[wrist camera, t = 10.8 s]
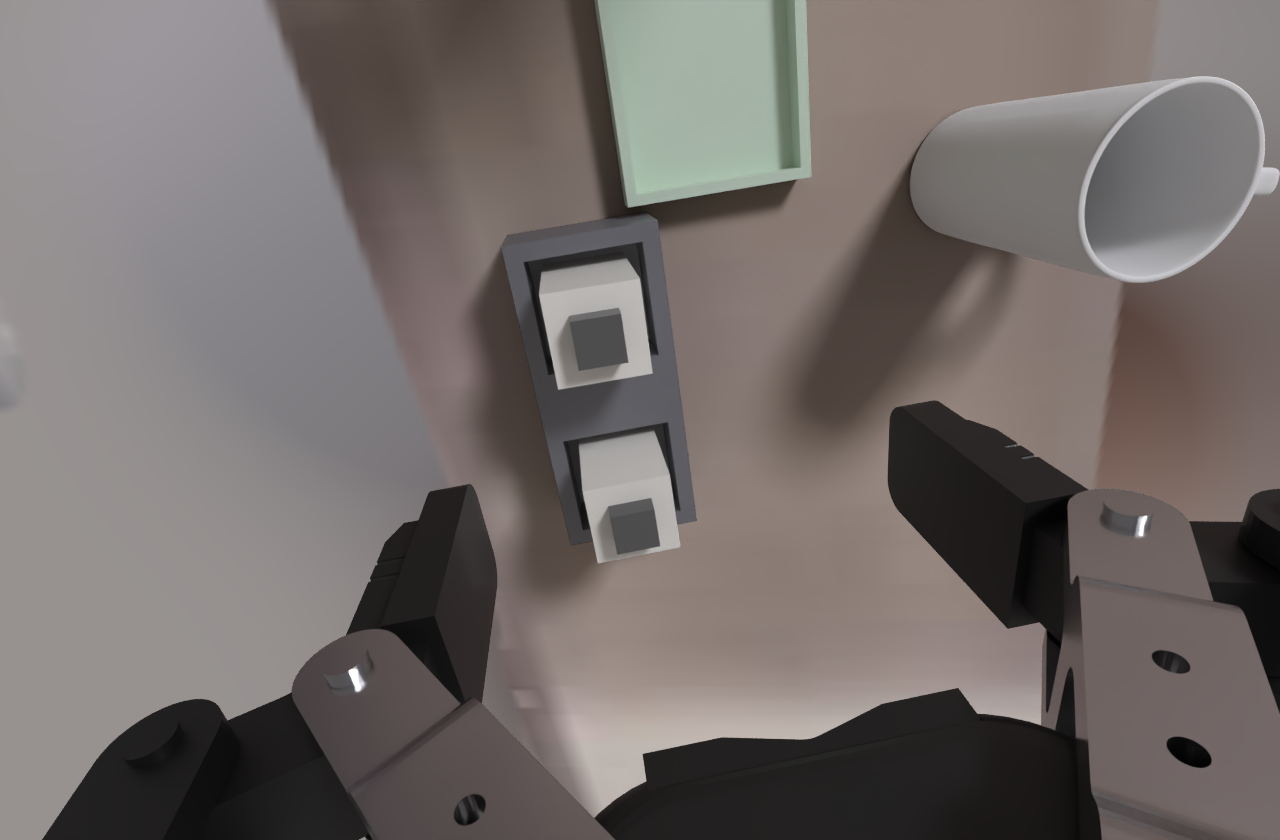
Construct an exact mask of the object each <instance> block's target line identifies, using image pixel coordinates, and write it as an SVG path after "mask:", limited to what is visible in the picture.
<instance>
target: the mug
mask: <svg viewBox="0 0 1280 840" xmlns="http://www.w3.org/2000/svg"><path fill="white" fill-rule="evenodd" d="M1264 153H1265V134H1264V127H1263V123H1262V119H1261V116H1260V113H1259V111H1258V109H1257V107H1256V105H1255V103H1254V102H1253V100H1252V99H1251V97H1250V96H1249V95H1248V94H1247V93H1246V92H1245V91H1244V90H1243V89H1241V88H1240V87H1239V86H1237V85H1236V84H1234V83H1232V82H1230V81H1227V80H1224V79H1221V78H1217V77H1207V76H1199V77H1190V78H1183V79H1170V80H1162V81H1154V82H1146V83H1139V84H1131V85H1124V86H1117V87H1110V88H1103V89H1096V90H1089V91H1082V92H1075V93H1068V94H1060V95H1053V96H1046V97H1039V98H1031V99H1024V100H1016V101H1008V102H1001V103H994V104H989V105H983V106H977V107H972V108H968V109H964V110H961V111H959V112H956V113H954V114H953V115H951V116H949V117H947V118H946V119H944V120H943V121H942V122H941V123H939V124H938V125H937V126H936V127H935V128H934V129H933V130H932V131H931V132H930V133H929V135H928V136H927V137H926V139H925V140H924V142H923V143H922V145H921V147H920V148H919V150H918V152H917V155H916V157H915V160H914V163H913V166H912V170H911V176H910V194H911V199H912V203H913V206H914V209H915V211H916V213H917V214H918V216H919V217H920V219H921V220H922V221H923V222H924V223H925V224H926V225H927V226H928V227H930V228H931V229H933V230H934V231H936V232H939V233H941V234H945V235H948V236H951V237H955V238H958V239H961V240H965V241H968V242H972V243H976V244H979V245H983V246H987V247H991V248H995V249H999V250H1003V251H1006V252H1010V253H1014V254H1018V255H1021V256H1025V257H1029V258H1033V259H1036V260H1040V261H1044V262H1047V263H1051V264H1055V265H1059V266H1062V267H1066V268H1070V269H1074V270H1077V271H1081V272H1085V273H1089V274H1093V275H1097V276H1102V277H1106V278H1111V279H1116V280H1119V281H1123V282H1129V283H1146V282H1153V281H1158V280H1161V279H1165V278H1168V277H1170V276H1172V275H1175V274H1177V273H1180V272H1181V271H1183V270H1185V269H1187V268H1189V267H1190V266H1192V265H1194V264H1195V263H1197V262H1198V261H1199V260H1201V259H1202V258H1203V257H1205V256H1206V255H1207V254H1209V253H1210V252H1211V251H1212V250H1213V249H1214V248H1215V247H1216V246H1217V245H1218V244H1219V243H1220V242H1221V241H1222V240H1223V239H1224V238H1225V237H1226V236H1227V235H1228V234H1229V232H1230V231H1231V230H1232V229H1233V227H1234V226H1235V225H1236V223H1237V222H1238V221H1239V219H1240V217H1241V216H1242V214H1243V213H1244V211H1245V210H1246V208H1247V206H1248V204H1249V203H1250V201H1251V199H1252V197H1255V196H1266V195H1268V194H1270V193H1272V192H1273V190H1274V189H1275V187H1276V185H1277V183H1278V180H1279V175H1280V174H1279V171H1278V170H1277V169H1275V168H1262V167H1263V162H1264Z"/></svg>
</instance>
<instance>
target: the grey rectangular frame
mask: <svg viewBox="0 0 1280 840" xmlns="http://www.w3.org/2000/svg"><path fill="white" fill-rule="evenodd" d="M501 249H502V253H503V258H504V262H505V266H506V270H507V275H508V279H509V283H510V287H511V292H512V296H513V300H514V305H515V309H516V313H517V317H518V322H519V326H520V330H521V334H522V339H523V343H524V347H525V352H526V356H527V360H528V364H529V369H530V373H531V377H532V381H533V386H534V390H535V394H536V399H537V403H538V407H539V411H540V416H541V420H542V424H543V428H544V433H545V437H546V441H547V446H548V450H549V454H550V458H551V463H552V467H553V471H554V475H555V480H556V484H557V488H558V493H559V497H560V501H561V505H562V510H563V514H564V518H565V522H566V527H567V531H568V535H569V540H570V544H571V545H576V544H581V543H586V542H591V541H593V538H592V533H591V529H590V524H589V519H588V515H587V510H586V505H585V501H584V496H583V491H582V478H581V466H580V453H579V441H578V439H580V438H585V437H591V436H596V435H601V434H607V433H612V432H617V431H623V430H628V429H633V428H639V427H644V426H649V425H652V426H653V428H654V431H655V434H656V437H657V440H658V443H659V445H660V448H661V451H662V454H663V457H664V460H665V462H666V465H667V468H668V471H669V474H670V479H671V486H672V493H673V500H674V507H675V514H676V520H677V525H678V524H683V523H688V522H693V521H697V519H696V511H695V504H694V496H693V488H692V480H691V473H690V465H689V457H688V450H687V442H686V434H685V427H684V419H683V411H682V404H681V396H680V388H679V380H678V373H677V365H676V357H675V350H674V342H673V334H672V327H671V319H670V311H669V303H668V296H667V288H666V280H665V273H664V265H663V257H662V250H661V242H660V234H659V226H658V220H657V219H655V218H654V217H652V216H651V215H649V214H648V213H647V212H643V213H637V214H631V215H625V216H619V217H613V218H607V219H601V220H595V221H589V222H583V223H578V224H572V225H566V226H560V227H554V228H548V229H542V230H536V231H530V232H524V233H518V234H512V235H507V237H506V239H505V241H504V242H503V244H502V246H501ZM619 252H623V253H624V255H625V256H626V258H627V260H628V261H629V263H630V264H631V266H632V267H633V269H634V270H635V272H636V273H637V275H638V276H639V278H640V282H641V290H642V297H643V305H644V312H645V320H646V327H647V335H648V342H649V349H650V357H651V364H652V372H653V374H647V375H642V376H636V377H630V378H624V379H618V380H612V381H607V382H601V383H595V384H589V385H583V386H577V387H572V388H566V389H560V390H558V386H557V381H556V376H555V371H554V367H553V362H552V357H551V352H550V347H549V342H548V337H547V332H546V327H545V322H544V317H543V312H542V308H541V303H540V298H539V290H540V281H541V272H542V265H543V264H549V263H556V262H562V261H568V260H575V259H581V258H587V257H593V256H600V255H606V254H612V253H619Z"/></svg>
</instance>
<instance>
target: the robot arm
mask: <svg viewBox="0 0 1280 840" xmlns="http://www.w3.org/2000/svg"><path fill="white" fill-rule="evenodd" d="M888 487H889V491H890V495H891V498H892V500H893V503H894V505H895V506H896V508H897V509H898V511H899V512H900V513H901V514H902V515H903V516H904V517H905V518H906V519H907V520H908V522H909V523H910V524H911V525H912V526H913V527H914V528H915V529H916V530H917V531H918V532H919V533H920V535H921V536H922V537H923V538H924V539H925V540H926V541H927V542H928V543H929V544H930V545H931V546H932V547H933V549H934V550H935V551H936V552H937V553H938V554H939V555H940V556H941V557H942V558H943V559H944V560H945V561H946V563H947V564H948V565H949V566H950V567H951V568H952V569H953V570H954V571H955V572H956V573H957V574H958V576H959V577H960V578H961V579H962V580H963V581H964V582H965V583H966V584H967V585H968V586H969V587H970V588H971V590H972V591H973V592H974V593H975V594H976V595H977V596H978V597H979V598H980V599H981V600H982V601H983V603H984V604H985V605H986V606H987V607H988V608H989V609H990V610H991V611H992V612H993V613H994V614H995V615H996V617H997V618H998V619H999V620H1000V621H1001V622H1002V623H1003V624H1004V625H1005V626H1006V627H1007V628H1008V629H1009V628H1014V627H1018V626H1023V625H1028V624H1033V623H1038V622H1040V623H1041V624H1042V625H1043V626H1044V627H1045V628H1046V629H1045V634H1044V640H1043V646H1042V705H1041V725H1038V724H1034V723H1031V722H1028V721H1023V720H1019V719H1014V718H1010V717H1003V716H996V715H988V714H977V713H976V712H975V710H974V709H973V708H972V706H971V705H970V704H969V702H968V701H967V699H966V698H965V697H964V695H963V694H962V693H961V691H960V690H959V689H958V688H956V689H952V690H947V691H942V692H937V693H932V694H928V695H923V696H918V697H913V698H909V699H904V700H899V701H894V702H889V703H885V704H881V705H879V706H877V707H875V708H873V709H871V710H869V711H867V712H865V713H863V714H861V715H859V716H857V717H855V718H853V719H852V720H850V721H848V722H846V723H844V724H842V725H840V726H838V727H836V728H834V729H832V730H830V731H828V732H826V733H824V734H822V735H820V736H817V737H815V738H812V739H805V740H795V739H758V738H717V739H712V740H708V741H703V742H698V743H693V744H689V745H684V746H679V747H674V748H669V749H665V750H660V751H655V752H650V753H645V754H643V759H644V766H645V773H646V780H647V781H646V782H644V783H642V784H640V785H638V786H636V787H634V788H633V789H631V790H629V791H628V792H626V793H625V794H623V795H622V796H620V797H619V798H617V799H616V800H614V801H613V802H612V803H611V804H610V805H608V806H607V807H606V808H605V809H604V810H602V811H601V812H600V813H599V814H598V815H597V816H596V817H595V818H593V817H592V816H591V815H590V814H589V813H588V811H587V810H586V809H585V808H584V807H583V806H582V805H581V804H580V803H579V802H578V801H577V800H576V799H575V798H574V797H573V796H572V795H571V794H570V793H569V792H568V791H567V790H566V789H565V788H564V787H563V786H562V785H561V784H560V783H559V782H558V781H557V780H556V779H555V778H554V777H553V776H552V775H551V774H550V773H549V772H548V771H547V770H546V769H545V768H544V767H543V766H542V765H541V764H540V762H539V761H538V760H537V759H536V758H535V757H534V756H533V755H532V754H531V753H530V752H529V751H528V750H527V749H526V748H525V747H524V746H523V745H522V744H521V743H520V742H519V741H518V740H517V739H516V738H515V737H514V736H513V735H512V734H511V733H510V732H509V731H508V730H507V729H506V728H505V727H504V726H503V725H502V724H501V723H500V722H499V721H498V720H497V719H496V718H495V717H494V715H492V713H491V712H489V710H488V709H486V707H485V706H484V705H483V704H482V697H483V689H484V682H485V675H486V667H487V659H488V652H489V644H490V636H491V629H492V621H493V613H494V606H495V598H496V590H497V569H496V562H495V557H494V552H493V549H492V545H491V542H490V539H489V535H488V532H487V528H486V525H485V522H484V518H483V515H482V511H481V508H480V504H479V501H478V498H477V494H476V492H475V490H474V488H473V486H472V485H471V484H468V485H462V486H457V487H451V488H446V489H441V490H435V491H430V492H429V494H428V496H427V498H426V501H425V504H424V507H423V510H422V513H421V515H420V518H419V520H418V521H413V522H407V523H404V524H403V525H402V526H401V527H400V528H399V529H398V530H397V531H396V532H395V533H394V534H393V535H392V536H391V537H390V538H389V539H388V540H387V541H386V542H385V544H384V547H383V549H382V552H381V554H380V556H379V558H378V561H377V564H378V565H376V566H375V568H374V570H373V573H372V575H371V577H370V579H371V582H368V584H367V587H366V589H365V591H364V594H363V596H362V599H361V601H360V603H359V606H358V608H357V611H356V613H355V615H354V617H353V620H352V622H351V625H350V627H349V629H348V632H347V634H346V636H344V637H341V638H339V639H337V640H335V641H333V642H332V643H330V644H328V645H327V646H325V647H324V648H323V649H321V650H320V651H318V652H317V653H316V654H314V655H313V656H312V657H311V658H310V659H309V660H308V661H307V662H306V663H305V665H304V666H303V667H302V668H301V669H300V671H299V673H298V674H297V676H296V678H295V680H294V682H293V686H292V693H290V694H288V695H286V696H284V697H282V698H280V699H277V700H275V701H273V702H270V703H268V704H265V705H263V706H261V707H258V708H256V709H254V710H251V711H249V712H247V713H244V714H242V715H240V716H237V717H235V718H233V719H230V720H228V721H227V719H226V718H225V716H224V714H223V713H222V711H221V709H220V708H219V706H218V705H217V704H216V703H214V702H212V701H209V700H204V699H193V700H188V701H183V702H179V703H176V704H173V705H170V706H168V707H165V708H163V709H161V710H159V711H157V712H154V713H152V714H151V715H149V716H147V717H145V718H144V719H142V720H140V721H139V722H137V723H136V724H134V725H133V726H131V727H130V728H129V729H127V730H126V731H125V732H124V733H122V734H121V735H120V736H119V737H118V738H116V739H115V740H114V741H113V742H112V743H111V744H110V745H109V746H108V747H107V748H106V749H105V750H104V752H103V753H102V754H101V755H100V756H99V758H98V759H97V760H96V761H95V763H94V764H93V766H92V767H91V769H90V770H89V771H88V773H87V774H86V776H85V777H84V779H83V780H82V782H81V783H80V785H79V786H78V788H77V789H76V791H75V792H74V794H73V795H72V797H71V798H70V799H69V801H68V802H67V804H66V805H65V807H64V808H63V810H62V811H61V813H60V814H59V816H58V817H57V819H56V820H55V822H54V823H53V825H52V826H51V828H50V829H49V830H48V832H47V834H46V835H45V836H44V838H43V839H42V840H359V839H361V838H363V837H365V838H366V840H1280V489H1273V490H1266V491H1262V492H1259V493H1257V494H1255V495H1253V496H1252V497H1251V498H1250V500H1249V503H1248V506H1247V509H1246V512H1245V515H1244V518H1243V521H1242V522H1198V521H1188V519H1187V518H1186V517H1185V515H1184V514H1183V513H1181V512H1180V511H1179V510H1178V509H1176V508H1175V507H1173V506H1172V505H1170V504H1168V503H1165V502H1164V501H1162V500H1159V499H1156V498H1154V497H1151V496H1148V495H1144V494H1141V493H1137V492H1133V491H1127V490H1120V489H1092V490H1088V489H1086V488H1085V487H1083V486H1082V485H1080V484H1079V483H1077V482H1076V481H1074V480H1073V479H1071V478H1070V477H1068V476H1067V475H1065V474H1064V473H1062V472H1061V471H1059V470H1057V469H1056V468H1054V467H1053V466H1051V465H1050V464H1048V463H1047V462H1045V461H1044V460H1042V459H1041V458H1039V457H1034V454H1033V453H1032V452H1030V451H1028V450H1027V449H1025V448H1024V447H1022V446H1017V443H1016V442H1015V441H1013V440H1012V439H1010V438H1009V437H1007V436H1006V435H1004V434H1003V433H1001V432H1000V431H998V430H996V429H994V428H991V427H988V426H985V425H982V424H979V423H976V422H973V421H970V420H965V419H964V418H962V417H961V416H959V415H958V414H956V413H955V412H953V411H952V410H950V409H949V408H948V407H946V406H945V405H943V404H942V403H940V402H938V401H928V402H923V403H917V404H912V405H906V406H901V407H896V408H895V409H894V410H893V411H892V413H891V416H890V425H889V455H888Z"/></svg>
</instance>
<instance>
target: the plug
mask: <svg viewBox="0 0 1280 840" xmlns="http://www.w3.org/2000/svg"><path fill="white" fill-rule="evenodd" d="M539 298H540V303H541V308H542V312H543V317H544V322H545V327H546V332H547V337H548V342H549V347H550V352H551V357H552V362H553V367H554V371H555V376H556V381H557V386H558V390H560V389H566V388H572V387H577V386H583V385H589V384H595V383H601V382H607V381H612V380H618V379H624V378H630V377H636V376H642V375H647V374H653V372H652V364H651V357H650V349H649V342H648V335H647V327H646V320H645V312H644V305H643V297H642V290H641V282H640V278H639V276H638V275H637V273H636V272H635V270H634V269H633V267H632V266H631V264H630V263H629V261H628V260H627V258H626V256H625V255H624V253H623V252H619V253H612V254H606V255H600V256H593V257H587V258H581V259H575V260H568V261H562V262H556V263H549V264H543V265H542V272H541V281H540V290H539Z"/></svg>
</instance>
